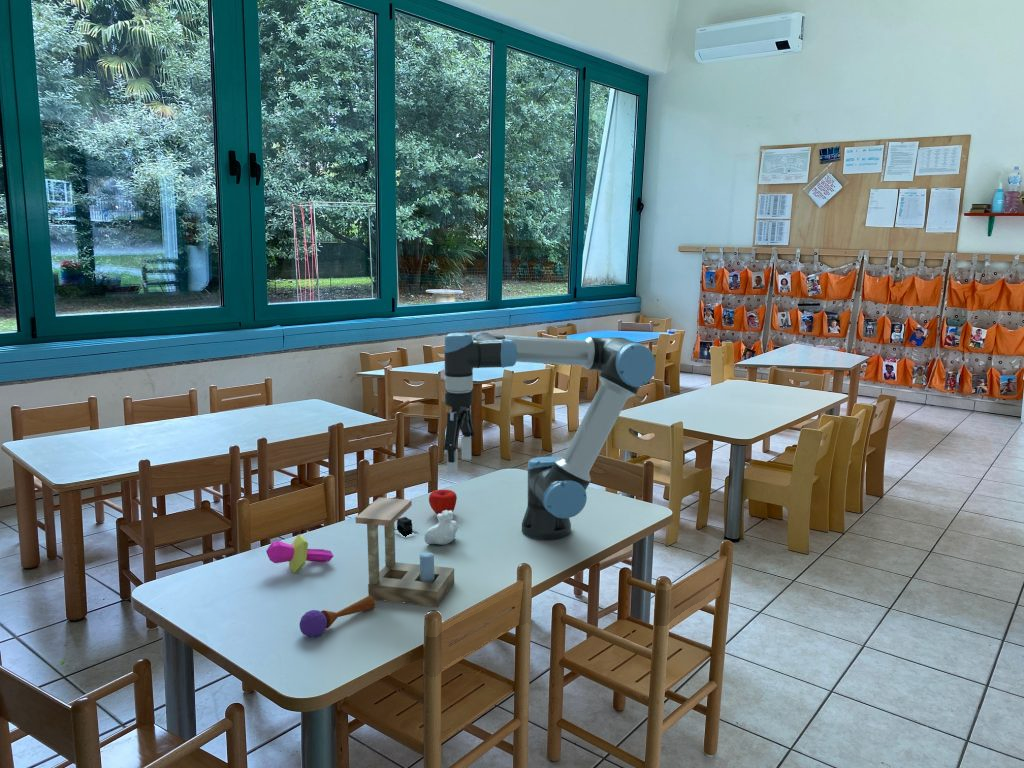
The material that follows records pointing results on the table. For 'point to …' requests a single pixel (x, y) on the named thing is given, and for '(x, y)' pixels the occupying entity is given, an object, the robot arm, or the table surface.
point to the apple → (442, 500)
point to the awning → (385, 515)
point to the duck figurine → (442, 529)
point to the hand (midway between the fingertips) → (459, 466)
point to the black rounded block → (404, 526)
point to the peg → (427, 567)
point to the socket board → (411, 585)
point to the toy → (296, 553)
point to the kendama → (330, 617)
